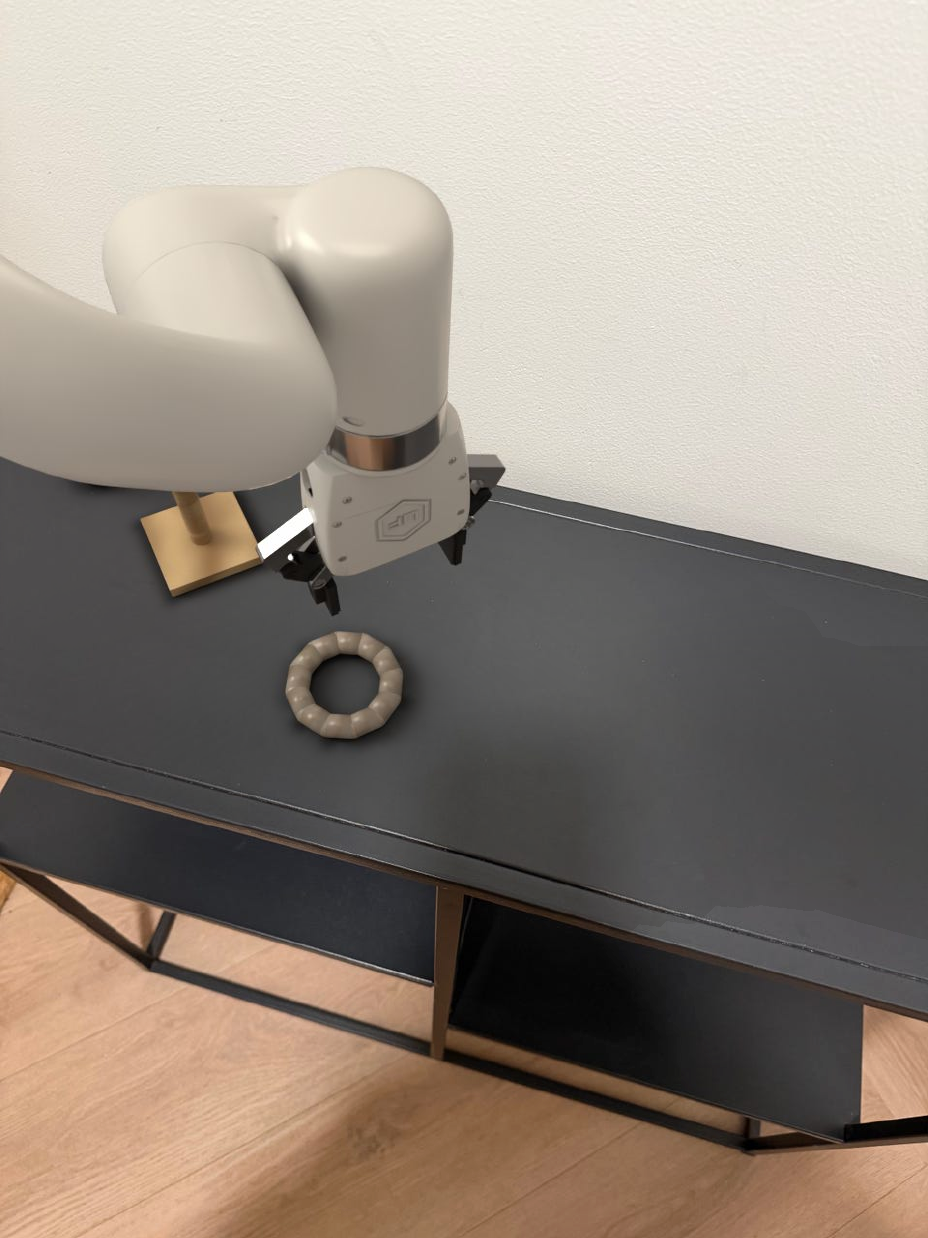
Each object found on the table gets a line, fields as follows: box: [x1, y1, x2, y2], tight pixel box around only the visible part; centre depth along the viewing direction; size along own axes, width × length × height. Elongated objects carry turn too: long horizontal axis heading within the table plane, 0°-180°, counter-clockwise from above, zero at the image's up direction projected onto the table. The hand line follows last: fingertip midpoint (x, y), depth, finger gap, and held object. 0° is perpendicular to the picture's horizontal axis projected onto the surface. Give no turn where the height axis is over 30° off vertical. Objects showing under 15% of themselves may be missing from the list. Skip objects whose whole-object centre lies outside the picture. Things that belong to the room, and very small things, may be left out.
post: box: [140, 491, 263, 598], centre depth 75 cm, size 9×9×13 cm
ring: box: [285, 630, 404, 740], centre depth 73 cm, size 10×10×2 cm
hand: (389, 574), depth 61 cm, fingers open, 9 cm apart
